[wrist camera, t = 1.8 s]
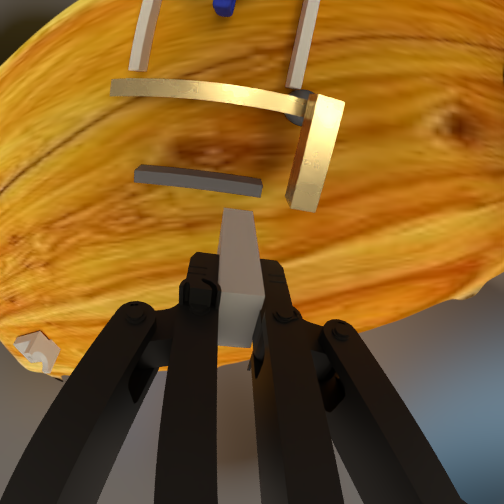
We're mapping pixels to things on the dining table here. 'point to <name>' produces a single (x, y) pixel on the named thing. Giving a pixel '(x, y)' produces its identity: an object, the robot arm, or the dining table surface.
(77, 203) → the dining table surface
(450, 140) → the dining table surface
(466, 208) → the dining table surface
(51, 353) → the bracket
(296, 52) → the beige rectangular bars
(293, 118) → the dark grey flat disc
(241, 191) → the kerb
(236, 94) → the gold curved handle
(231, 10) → the mug
